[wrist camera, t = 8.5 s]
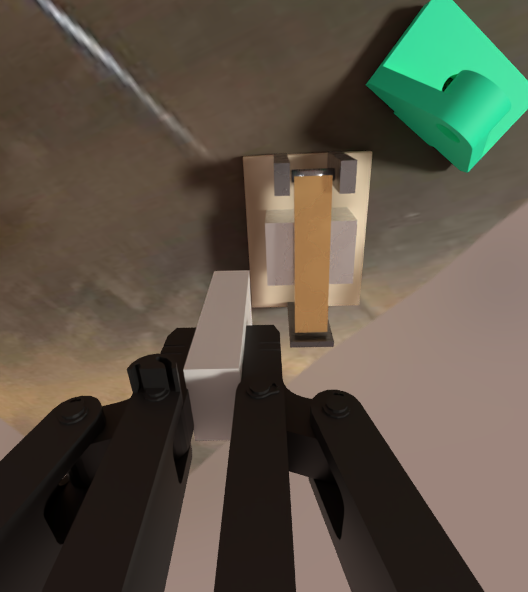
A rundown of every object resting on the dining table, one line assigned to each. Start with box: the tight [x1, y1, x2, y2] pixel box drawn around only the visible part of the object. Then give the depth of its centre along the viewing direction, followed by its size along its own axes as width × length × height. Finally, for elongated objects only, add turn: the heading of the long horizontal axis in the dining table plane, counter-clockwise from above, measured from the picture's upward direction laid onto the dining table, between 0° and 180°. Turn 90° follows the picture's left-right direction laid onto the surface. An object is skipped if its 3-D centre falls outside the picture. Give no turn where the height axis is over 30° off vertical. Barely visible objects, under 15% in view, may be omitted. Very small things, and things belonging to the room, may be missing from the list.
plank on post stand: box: [265, 151, 358, 347], centre depth 34 cm, size 8×16×8 cm, turn 2°
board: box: [243, 151, 372, 307], centre depth 38 cm, size 12×16×1 cm
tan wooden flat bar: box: [291, 168, 335, 333], centre depth 32 cm, size 3×14×1 cm, turn 2°
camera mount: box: [366, 0, 528, 173], centre depth 28 cm, size 12×8×10 cm, turn 54°
